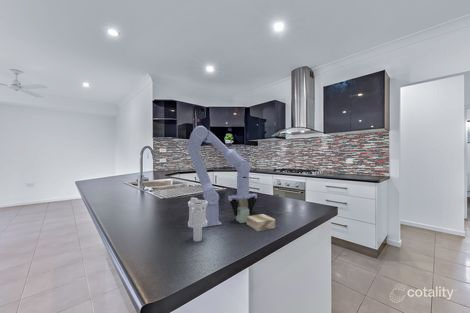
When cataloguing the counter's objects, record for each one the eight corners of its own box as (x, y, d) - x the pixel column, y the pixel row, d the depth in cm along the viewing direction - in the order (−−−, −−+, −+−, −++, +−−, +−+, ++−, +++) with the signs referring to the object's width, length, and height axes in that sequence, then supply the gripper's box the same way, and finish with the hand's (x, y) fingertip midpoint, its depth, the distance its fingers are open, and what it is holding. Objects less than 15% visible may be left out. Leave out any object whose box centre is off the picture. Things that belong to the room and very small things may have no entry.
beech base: (257, 232, 82) (258, 222, 82) (246, 225, 90) (246, 216, 90) (275, 228, 86) (275, 219, 86) (263, 222, 94) (263, 213, 94)
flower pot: (248, 216, 102) (248, 199, 101) (234, 213, 107) (234, 197, 107) (258, 212, 109) (258, 196, 109) (244, 209, 115) (244, 194, 115)
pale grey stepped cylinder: (198, 234, 78) (199, 196, 78) (211, 239, 74) (211, 198, 74) (183, 240, 73) (184, 198, 73) (196, 245, 68) (196, 201, 68)
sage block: (240, 223, 92) (240, 210, 92) (236, 220, 96) (236, 207, 96) (249, 221, 94) (249, 209, 94) (244, 219, 98) (244, 206, 98)
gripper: (232, 188, 88) (232, 218, 88) (260, 186, 94) (260, 214, 94) (226, 185, 94) (226, 214, 94) (252, 184, 101) (252, 210, 101)
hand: (242, 214), depth 95 cm, fingers open, 7 cm apart
